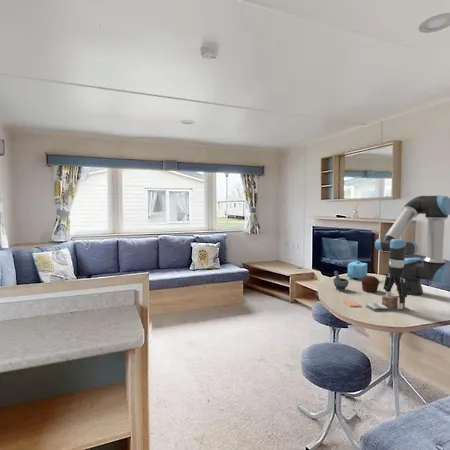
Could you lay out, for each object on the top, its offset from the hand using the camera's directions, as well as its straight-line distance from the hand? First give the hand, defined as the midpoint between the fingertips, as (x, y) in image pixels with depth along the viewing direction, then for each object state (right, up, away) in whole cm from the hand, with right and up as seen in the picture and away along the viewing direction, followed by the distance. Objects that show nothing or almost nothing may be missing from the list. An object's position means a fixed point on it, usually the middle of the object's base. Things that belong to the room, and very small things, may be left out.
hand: (393, 305), depth 177 cm
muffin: (+2, +1, +34) cm, 34 cm away
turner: (-4, -1, -1) cm, 5 cm away
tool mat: (-4, -2, 0) cm, 4 cm away
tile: (-18, -1, +6) cm, 19 cm away
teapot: (+7, +3, +67) cm, 67 cm away
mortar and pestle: (-18, +1, +36) cm, 40 cm away
